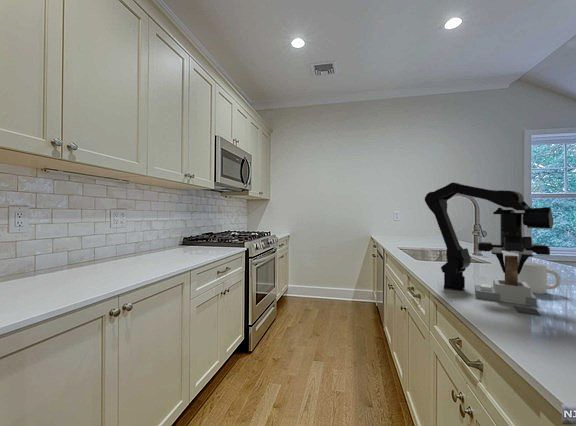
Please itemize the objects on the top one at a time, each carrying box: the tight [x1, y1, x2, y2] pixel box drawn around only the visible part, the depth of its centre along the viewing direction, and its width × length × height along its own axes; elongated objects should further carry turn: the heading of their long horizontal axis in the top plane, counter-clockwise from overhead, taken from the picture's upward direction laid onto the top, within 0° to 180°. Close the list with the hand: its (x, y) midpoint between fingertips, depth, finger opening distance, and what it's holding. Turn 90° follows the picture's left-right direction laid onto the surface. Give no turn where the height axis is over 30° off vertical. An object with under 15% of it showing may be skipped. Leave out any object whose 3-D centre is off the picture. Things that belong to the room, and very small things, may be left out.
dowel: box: [504, 254, 519, 286], centre depth 95 cm, size 4×4×10 cm
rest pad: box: [514, 305, 541, 317], centre depth 83 cm, size 5×5×1 cm
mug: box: [518, 261, 562, 295], centre depth 103 cm, size 12×8×10 cm
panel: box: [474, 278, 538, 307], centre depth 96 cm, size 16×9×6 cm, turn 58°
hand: (511, 273), depth 95 cm, fingers closed on dowel, 3 cm apart
